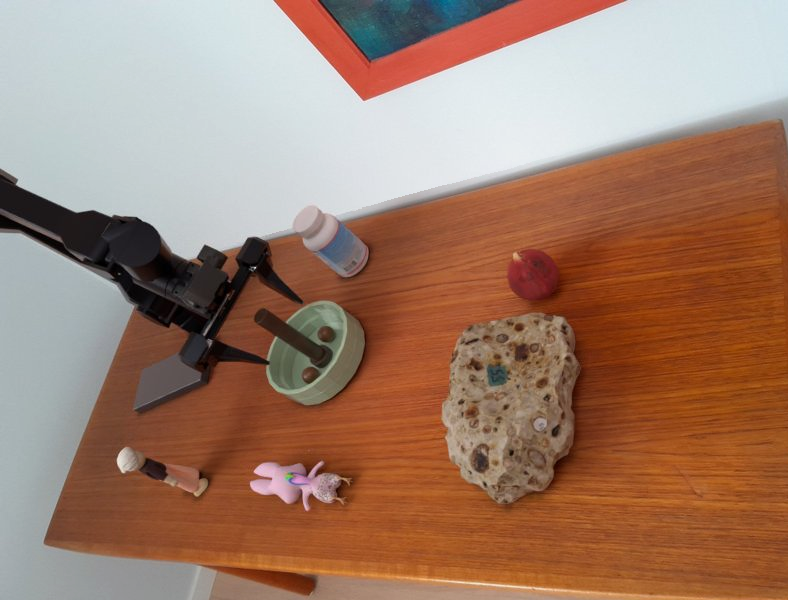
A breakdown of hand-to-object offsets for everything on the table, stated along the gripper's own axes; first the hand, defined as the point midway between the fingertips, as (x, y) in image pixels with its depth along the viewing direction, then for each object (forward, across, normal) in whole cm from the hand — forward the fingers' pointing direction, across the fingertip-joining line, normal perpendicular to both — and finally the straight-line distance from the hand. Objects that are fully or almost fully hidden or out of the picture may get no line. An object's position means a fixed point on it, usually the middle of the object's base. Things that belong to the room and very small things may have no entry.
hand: (286, 333), depth 88 cm
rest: (-17, -10, +28) cm, 35 cm away
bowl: (+6, 0, +6) cm, 8 cm away
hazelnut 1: (+5, -3, +4) cm, 7 cm away
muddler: (+5, 0, +6) cm, 8 cm away
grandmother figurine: (-3, -23, +15) cm, 28 cm away
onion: (+27, +16, -15) cm, 35 cm away
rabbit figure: (+12, -17, 0) cm, 20 cm away
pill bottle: (+2, +16, +10) cm, 19 cm away
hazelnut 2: (+4, +3, +5) cm, 7 cm away
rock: (+30, +1, -18) cm, 35 cm away
